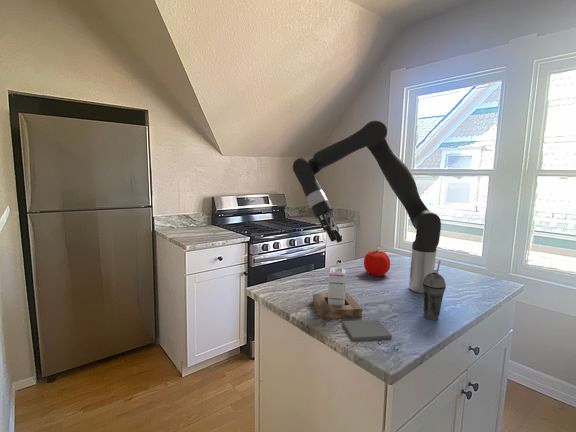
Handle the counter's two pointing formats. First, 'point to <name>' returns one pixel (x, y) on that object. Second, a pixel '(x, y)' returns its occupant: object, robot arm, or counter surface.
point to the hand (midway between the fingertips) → (337, 241)
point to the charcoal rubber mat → (366, 330)
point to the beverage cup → (433, 294)
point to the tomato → (376, 263)
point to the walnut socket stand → (337, 307)
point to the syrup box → (336, 287)
